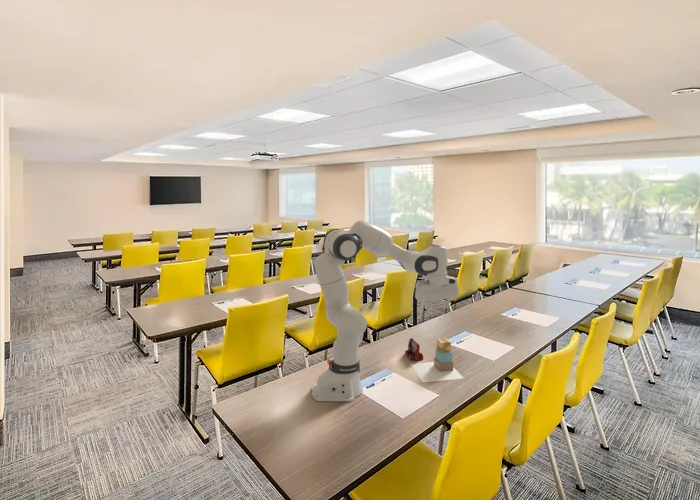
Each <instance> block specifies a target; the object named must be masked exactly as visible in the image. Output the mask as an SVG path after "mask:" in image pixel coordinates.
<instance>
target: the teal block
mask: <svg viewBox="0 0 700 500" xmlns="http://www.w3.org/2000/svg"><path fill="white" fill-rule="evenodd" d="M434 356H435V357H434V358H436V359H437V360H438V361H439V362H440V363H448V362H453V352H452V351H451V352H445V353H441V352H440V351H439V350H438V349H437V347H436V348H435V355H434Z"/></svg>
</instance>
